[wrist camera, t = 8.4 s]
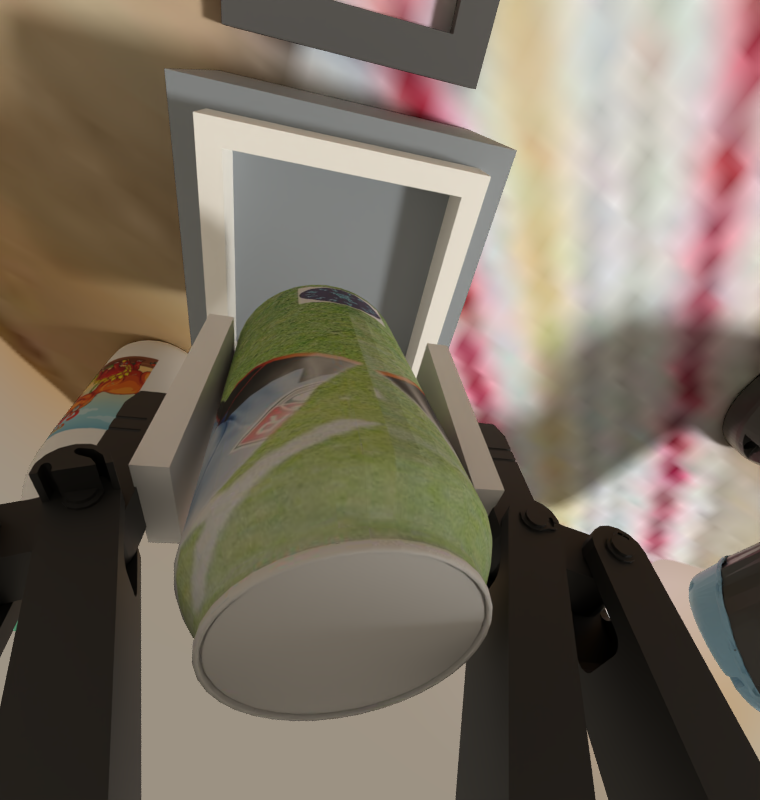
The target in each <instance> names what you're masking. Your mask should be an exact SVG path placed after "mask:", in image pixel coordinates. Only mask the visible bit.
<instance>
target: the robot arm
mask: <svg viewBox="0 0 760 800" xmlns="http://www.w3.org/2000/svg"><path fill="white" fill-rule="evenodd" d="M234 353H235V345H234V317H230V316H222V315H215V314H209V316H208V317H207V319H206V321H205V323H204V325H203V327H202V329H201V330H200V332H199V334H198V336H197V338H196V340H195V342H194V344H193V345H192V347H191V349H190V351H189V353H188V355H187V357H186V358H185V360H184V362H183V364H182V366H181V368H180V370H179V371H178V373H177V375H176V377H175V379H174V381H173V383H172V385H171V386H170V388H169V390H168V392H167V393H161V392H150V391H140V392H138V393H137V394H135V395H134V396H132V397H131V398H129V399H128V400H127V401H125V402H124V404H123V405H122V407H121V408H120V410H119V411H118V413H117V415H116V418H114V419H113V421H112V422H111V424H110V425H109V428H108V430H106V431H105V433H104V434H103V436H102V438H101V439H100V441H99V442H98V444H97V445H94V444H73V445H69V446H65V447H61V448H58V449H56V450H54V451H52V452H50V453H48V454H46V455H44V456H43V457H42V458H41V459H40V460H38V461H37V462H36V463H35V464H34V465H33V467H32V469H31V471H30V472H29V474H28V475H29V477H30V479H31V481H32V483H33V485H34V487H35V489H36V491H37V493H38V495H39V497H37V498H33V499H29V500H23V501H18V502H12V503H6V504H0V656H1V654H2V652H3V650H4V648H5V646H6V644H7V642H8V640H9V638H10V636H11V634H12V631H13V629H14V627H15V625H16V623H17V627H16V632H15V637H14V642H13V647H12V652H11V657H10V662H9V666H8V671H7V676H6V681H5V686H4V691H3V696H2V701H1V706H0V800H141V557H140V553H139V549H138V545H139V543H140V541H141V539H142V536H143V534H144V532H145V530H146V534H147V538H148V542H155V543H180V540H181V537H182V533H183V530H184V526H185V523H186V519H187V516H188V512H189V509H190V505H191V502H192V498H193V495H194V491H195V488H196V485H197V481H198V478H199V474H200V471H201V467H202V464H203V460H204V457H205V453H206V450H207V446H208V443H209V439H210V436H211V433H212V429H213V426H214V422H215V419H216V415H217V412H218V408H219V405H220V401H221V398H222V394H223V391H224V387H225V384H226V380H227V377H228V374H229V370H230V367H231V363H232V360H233V356H234ZM416 379H417V381H418V383H419V385H420V387H421V389H422V391H423V392H424V394H425V396H426V398H427V400H428V402H429V404H430V406H431V408H432V409H433V411H434V413H435V415H436V417H437V419H438V421H439V423H440V425H441V426H442V428H443V430H444V432H445V434H446V436H447V438H448V440H449V441H450V443H451V445H452V447H453V449H454V451H455V453H456V455H457V457H458V458H459V460H460V462H461V464H462V466H463V468H464V470H465V472H466V474H467V475H468V477H469V479H470V481H471V483H472V485H473V487H474V489H475V491H476V492H477V494H478V496H479V498H480V500H481V502H482V504H483V506H484V508H485V510H486V512H487V515H488V519H489V524H490V529H491V534H492V556H491V567H490V572H489V576H488V580H487V584H486V585H487V587H488V590H489V593H490V597H491V602H492V606H493V607H492V621H491V624H490V627H489V630H488V632H487V635H486V637H485V638H484V640H483V642H482V643H481V645H480V646H479V648H478V649H477V651H476V652H475V653H474V654H473V655H472V656H471V657H470V658H469V660H468V661H467V662H466V671H465V685H464V698H463V709H462V710H463V711H462V723H461V735H460V748H459V762H458V774H457V788H456V800H595V792H594V785H593V776H592V768H591V761H590V753H589V745H588V737H587V732H588V735H589V738H590V741H591V745H592V747H593V751H594V754H595V758H596V761H597V764H598V767H599V771H600V774H601V777H602V780H603V783H604V787H605V790H606V793H607V797H608V800H760V761H759V759H758V757H757V756H756V754H755V752H754V750H753V748H752V747H751V745H750V743H749V741H748V739H747V737H746V736H745V734H744V732H743V730H742V728H741V727H740V725H739V723H738V721H737V719H736V717H735V716H734V714H733V712H732V710H731V708H730V707H729V705H728V703H727V701H726V699H725V697H724V696H723V694H722V692H721V690H720V688H719V687H718V685H717V683H716V681H715V679H714V677H713V675H712V674H711V672H710V670H709V669H708V666H707V665H706V663H705V661H704V659H703V657H702V656H701V654H700V652H699V650H698V648H697V646H696V645H695V643H694V641H693V639H692V637H691V636H690V634H689V632H688V630H687V628H686V626H685V625H684V623H683V621H682V619H681V617H680V615H679V614H678V612H677V610H676V608H675V606H674V605H673V603H672V601H671V599H670V598H669V595H668V594H667V592H666V590H665V588H664V586H663V585H662V583H661V581H660V579H659V577H658V575H657V574H656V572H655V570H654V568H653V566H652V564H651V563H650V561H649V559H648V557H647V555H646V553H645V552H644V550H643V549H642V548H641V546H640V545H639V544H638V543H637V542H636V541H635V540H634V539H633V538H632V537H631V536H630V535H628V534H627V533H625V532H623V531H621V530H620V529H618V528H614V527H611V526H599V527H598V528H597V529H595V530H594V531H593V532H592V533H591V534H590V535H588V534H586V533H583V532H580V531H577V530H574V529H571V528H568V527H565V526H563V525H561V524H559V522H558V520H557V518H556V517H555V516H554V514H553V513H552V512H551V511H550V510H549V509H548V508H546V507H545V506H544V505H542V504H540V503H538V502H536V501H534V499H533V497H532V495H531V493H530V491H529V488H528V486H527V484H526V482H525V480H524V477H523V475H522V473H521V471H520V469H519V467H518V464H517V462H515V458H514V456H513V453H512V452H510V450H511V449H510V447H509V445H508V442H507V440H506V438H505V436H504V435H503V434H502V433H501V432H500V431H499V430H498V429H497V428H496V427H495V426H494V425H493V424H483V423H478V422H477V420H476V417H475V414H474V412H473V409H472V407H471V404H470V402H469V399H468V397H467V394H466V392H465V389H464V387H463V384H462V382H461V379H460V377H459V374H458V372H457V369H456V367H455V364H454V362H453V359H452V357H451V354H450V351H449V349H448V346H445V345H438V344H431V343H427V345H426V348H425V352H424V355H423V358H422V361H421V365H420V368H419V371H418V374H417V378H416ZM723 433H724V437H725V439H726V440H727V442H728V443H729V444H730V445H731V446H733V447H734V448H735V449H736V450H737V451H738V452H739V453H740V454H741V455H742V456H744V457H745V458H746V459H748V460H750V461H752V462H754V463H756V464H758V465H760V376H759V377H758V378H756V379H755V380H754V381H753V382H752V383H751V384H750V385H749V386H748V387H746V388H745V390H744V391H743V392H742V393H741V394H740V395H739V396H738V397H737V399H736V400H735V401H734V403H733V404H732V405H731V407H730V409H729V411H728V413H727V415H726V417H725V420H724V424H723ZM689 601H690V606H691V609H692V612H693V615H694V618H695V621H696V623H697V626H698V628H699V630H700V632H701V634H702V636H703V638H704V640H705V642H706V644H707V646H708V648H709V649H710V651H711V653H712V655H713V657H714V658H715V660H716V662H717V663H718V665H719V666H720V668H721V669H722V671H723V672H724V673H725V675H727V676H729V677H730V679H731V681H732V682H733V684H734V686H735V688H736V689H737V691H738V692H739V693H740V694H741V695H742V697H743V698H744V699H745V700H746V701H747V702H748V703H749V704H750V705H751V706H753V707H754V708H755V709H756V710H758V711H759V712H760V542H759V543H757V544H755V545H753V546H750V547H748V548H746V549H744V550H742V551H740V552H737V553H735V554H733V555H729V556H725V557H722V558H721V559H720V560H719V561H718V563H716V564H715V565H713V566H711V567H709V568H707V569H706V570H704V571H702V572H700V573H698V574H697V575H696V576H695V577H693V579H692V581H691V582H690V587H689ZM605 608H606V610H607V612H608V614H609V616H608V614H607V612H606V610H605ZM609 617H610V618H609ZM17 621H18V622H17ZM586 728H587V729H586Z"/></svg>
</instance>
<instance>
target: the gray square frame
mask: <svg viewBox="0 0 760 800" xmlns="http://www.w3.org/2000/svg"><path fill="white" fill-rule="evenodd" d="M499 1H500V0H457V4H456V9H455V13H454V18H453V22H452V27H451V31H450V33H447V32H443V31H440V30H436V29H433V28H429V27H426V26H422V25H418V24H415V23H411V22H408V21H404V20H401V19H397V18H393V17H390V16H386V15H383V14H379V13H376V12H372V11H368V10H365V9H361V8H358V7H354V6H351V5H347V4H343V3H340V2H336V1H333V0H221V15H222V24H224V25H226V26H230V27H234V28H238V29H242V30H246V31H250V32H254V33H258V34H261V35H265V36H269V37H273V38H277V39H281V40H285V41H289V42H293V43H296V44H300V45H304V46H308V47H312V48H316V49H320V50H324V51H328V52H331V53H335V54H339V55H343V56H347V57H351V58H355V59H359V60H363V61H367V62H370V63H374V64H378V65H382V66H386V67H390V68H394V69H398V70H402V71H405V72H409V73H413V74H417V75H421V76H425V77H429V78H433V79H437V80H440V81H444V82H448V83H452V84H456V85H460V86H464V87H468V88H472V89H476V86H477V82H478V79H479V75H480V71H481V68H482V64H483V60H484V56H485V53H486V49H487V45H488V42H489V38H490V34H491V31H492V27H493V23H494V19H495V16H496V12H497V8H498V5H499Z"/></svg>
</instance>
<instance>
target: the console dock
mask: <svg viewBox="0 0 760 800" xmlns="http://www.w3.org/2000/svg"><path fill="white" fill-rule="evenodd" d="M164 70H165V80H166V90H167V101H168V111H169V121H170V131H171V142H172V152H173V162H174V172H175V182H176V193H177V203H178V213H179V223H180V233H181V244H182V254H183V264H184V274H185V284H186V295H187V305H188V315H189V325H190V335H191V346H192V345H193V344H194V342H195V340H196V338H197V336H198V334H199V332H200V330H201V329H202V327H203V325H204V323H205V321H206V319H207V317H208V316H209V314H215V315H222V316H230V317H234V345H235V349H236V346H237V342H238V339H239V335H240V332H241V330H242V328H243V327H244V325H245V323H246V321H247V319H248V318H249V317H250V316H251V314H252V313H253V312H254V311H255V310H256V309H257V308H258V307H259V306H260V305H261V304H263V303H264V302H265V301H266V300H267V299H269V298H271V297H273V296H275V295H276V294H278V293H280V292H282V291H285V290H288V289H291V288H294V287H299V286H306V285H328V286H333V287H338V288H342V289H344V290H347V291H350V292H352V293H355V294H356V295H358V296H360V297H361V298H363V299H365V300H366V301H368V302H369V303H370V304H371V305H372V306H373V307H374V308H376V309H377V310H378V312H379V313H380V314H381V315H382V317H383V318H384V319H385V321H386V323H387V324H388V326H389V328H390V330H391V332H392V334H393V336H394V338H395V340H396V341H397V343H398V345H399V347H400V349H401V351H402V353H403V355H404V357H405V358H406V360H407V362H408V364H409V366H410V368H411V370H412V372H413V374H414V375H415V377H416V378H417V374H418V371H419V368H420V365H421V361H422V358H423V355H424V352H425V348H426V345H427V343H431V344H438V345H445V346H448V349H449V346H450V343H451V340H452V337H453V334H454V331H455V329H456V326H457V323H458V320H459V317H460V314H461V311H462V308H463V305H464V302H465V300H466V297H467V294H468V291H469V288H470V285H471V282H472V279H473V276H474V273H475V270H476V268H477V265H478V262H479V259H480V256H481V253H482V250H483V247H484V244H485V241H486V239H487V236H488V233H489V230H490V227H491V224H492V221H493V218H494V215H495V212H496V210H497V207H498V204H499V201H500V198H501V195H502V192H503V189H504V186H505V183H506V181H507V178H508V175H509V172H510V169H511V166H512V163H513V160H514V157H515V154H516V152H517V150H514V149H512V148H510V147H507V146H505V145H503V144H500V143H498V142H496V141H494V140H491V139H489V138H487V137H484V136H482V135H480V134H477V133H475V132H473V131H470V130H468V129H464V128H459V127H455V126H451V125H447V124H443V123H438V122H434V121H430V120H426V119H421V118H417V117H413V116H409V115H405V114H400V113H396V112H392V111H388V110H384V109H379V108H375V107H371V106H367V105H362V104H358V103H354V102H350V101H346V100H341V99H337V98H333V97H329V96H325V95H320V94H316V93H312V92H308V91H304V90H299V89H295V88H291V87H287V86H282V85H278V84H274V83H270V82H266V81H261V80H257V79H253V78H249V77H245V76H240V75H236V74H232V73H228V72H224V71H219V70H197V69H166V68H164Z"/></svg>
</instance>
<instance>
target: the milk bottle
mask: <svg viewBox="0 0 760 800" xmlns="http://www.w3.org/2000/svg"><path fill="white" fill-rule="evenodd" d="M187 355H188V353H187V352H186V351H184V350H182V349H180V348H178V347H176V346H174V345H171V344H169V343H165V342H161V341H153V340H145V341H138V342H133V343H130V344H127V345H125V346H123V347H122V348H120V349H119V350H118V351H117V352H116V353H115V354H114V355H113V356H112V357H111V358H110V360H109V361H108V362H107V363H106V364H105V366H104V367H103V368H102V369H101V371H100V372H99V373H98V374H97V376H96V377H95V378H94V379H93V380H92V382H91V383H90V384H89V385H88V387H87V388H86V389H85V390H84V392H83V393H82V394H81V395H80V397H79V398H78V399H77V400H76V402H75V403H74V404H73V406H72V407H71V408H70V410H69V411H68V412H67V413H66V415H65V416H64V417H63V418H62V420H61V421H60V422H59V423H58V425H57V426H56V427H55V429H54V430H53V431H52V433H51V434H50V435H49V437H48V438H47V440H46V441H45V443H44V444H43V445H42V447H41V448H40V449H39V451H38V452H37V454H36V456H35V458H34V459H33V461H32V463H31V465H30V467H29V470H28V472H27V475H26V478H25V481H24V485H23V491H22V500H21V501H23V500H29V499H33V498H37V497H39V495H38V493H37V491H36V489H35V487H34V485H33V483H32V481H31V479H30V477H29V475H28V474H29V472H30V471H31V469H32V467H33V465H34V464H35V463H36V462H37V461H38V460H40V459H41V458H42V457H43V456H44V455H46V454H48V453H50V452H52V451H54V450H56V449H58V448H61V447H65V446H69V445H73V444H94V445H97V444H98V442H99V441H100V439H101V438H102V436H103V434H104V433H105V431H106V430H108V428H109V425H110V424H111V422H112V421H113V419H114V418H116V415H117V413H118V411H119V410H120V408H121V407H122V405H123V404H124V402H125V401H127V400H128V399H129V398H131V397H132V396H134V395H135V394H137V393H138V392H140V391H150V392H161V393H167V392H168V390H169V388H170V386H171V385H172V383H173V381H174V379H175V377H176V375H177V373H178V371H179V370H180V368H181V366H182V364H183V362H184V360H185V358H186V357H187ZM17 622H18V621H17ZM16 627H17V623H16V625H15V627H14V629H13V631H16Z"/></svg>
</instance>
